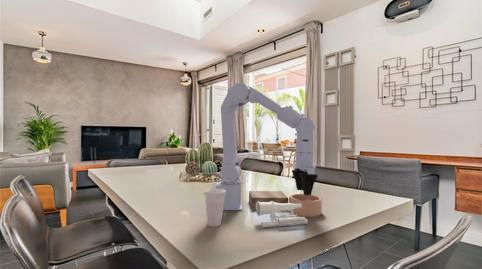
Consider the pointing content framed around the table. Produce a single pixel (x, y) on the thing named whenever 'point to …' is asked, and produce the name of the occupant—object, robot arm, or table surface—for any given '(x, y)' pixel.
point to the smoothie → (214, 204)
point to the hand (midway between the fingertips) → (303, 192)
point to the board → (266, 197)
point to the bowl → (306, 205)
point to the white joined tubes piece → (274, 207)
